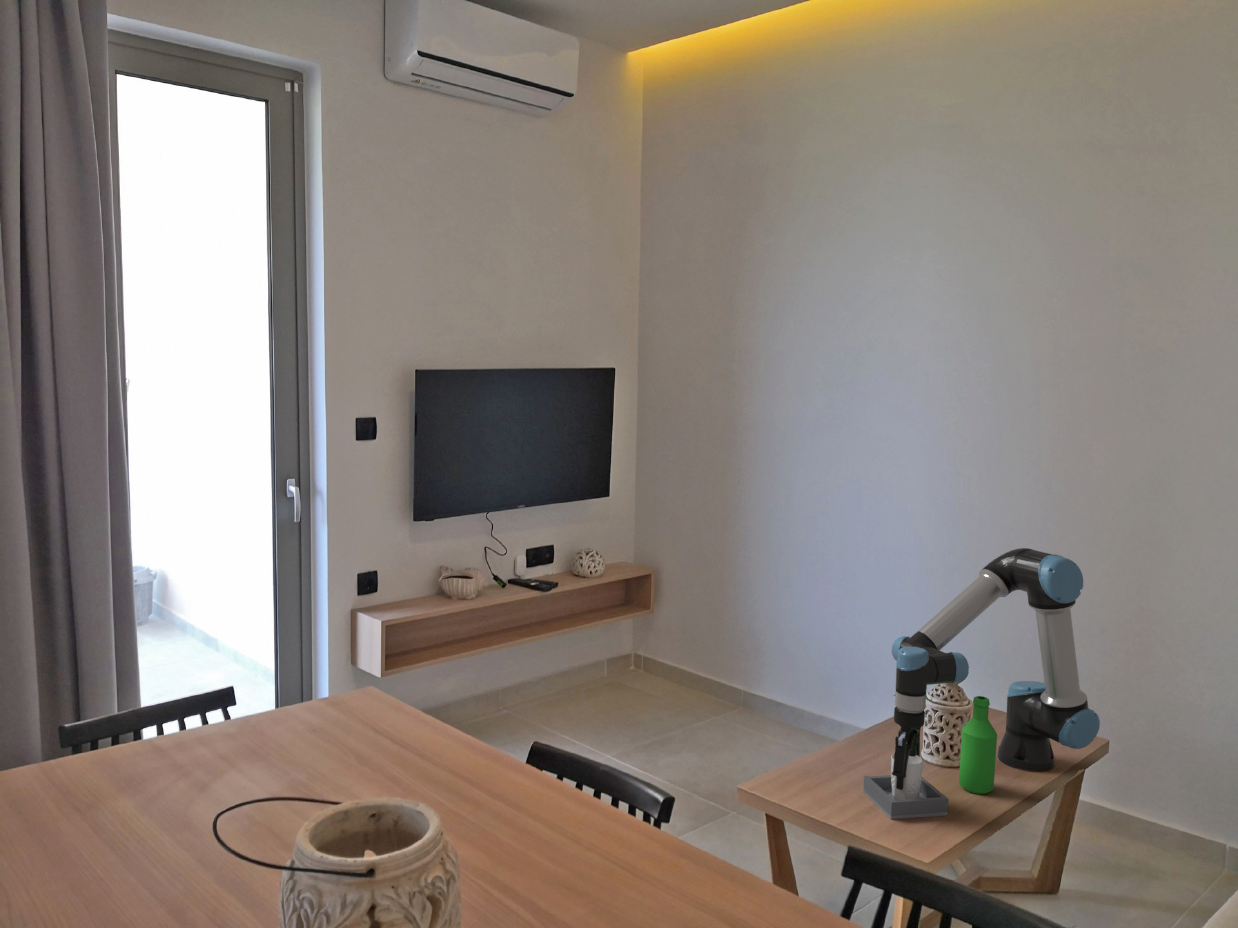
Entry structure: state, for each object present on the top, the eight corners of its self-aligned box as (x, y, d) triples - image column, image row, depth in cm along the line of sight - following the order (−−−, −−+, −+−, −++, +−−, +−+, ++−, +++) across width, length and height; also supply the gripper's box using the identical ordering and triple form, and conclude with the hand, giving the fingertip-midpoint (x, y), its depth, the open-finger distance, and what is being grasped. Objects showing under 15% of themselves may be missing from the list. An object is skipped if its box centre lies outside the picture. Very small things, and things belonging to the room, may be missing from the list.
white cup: (922, 803, 239) (924, 765, 238) (890, 800, 240) (892, 762, 239) (919, 790, 246) (921, 753, 245) (888, 787, 248) (889, 750, 247)
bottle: (960, 778, 260) (966, 690, 258) (994, 785, 256) (1000, 695, 254) (957, 790, 252) (962, 699, 250) (991, 798, 248) (997, 705, 246)
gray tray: (917, 788, 252) (917, 773, 252) (947, 815, 237) (948, 798, 237) (863, 792, 250) (864, 776, 249) (890, 819, 234) (891, 802, 234)
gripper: (907, 694, 252) (902, 777, 254) (882, 716, 235) (877, 804, 237) (935, 700, 248) (930, 784, 250) (912, 722, 231) (907, 812, 233)
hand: (904, 794), depth 243 cm, fingers closed on white cup, 7 cm apart
